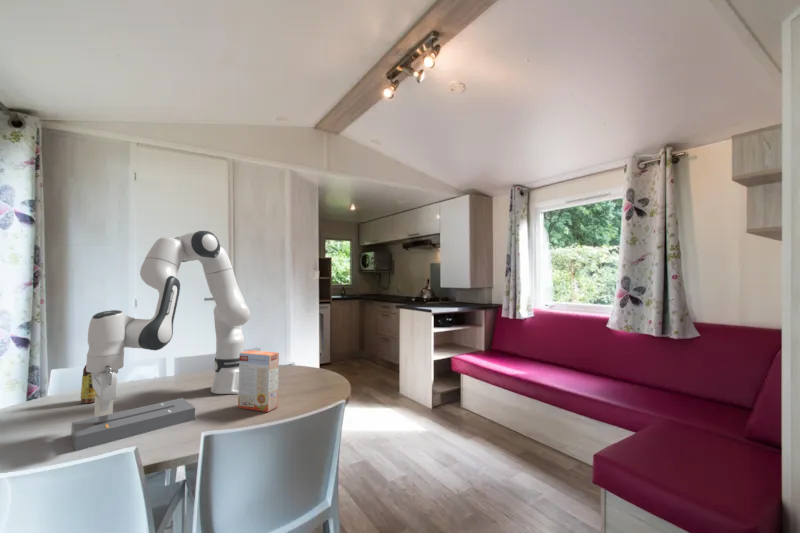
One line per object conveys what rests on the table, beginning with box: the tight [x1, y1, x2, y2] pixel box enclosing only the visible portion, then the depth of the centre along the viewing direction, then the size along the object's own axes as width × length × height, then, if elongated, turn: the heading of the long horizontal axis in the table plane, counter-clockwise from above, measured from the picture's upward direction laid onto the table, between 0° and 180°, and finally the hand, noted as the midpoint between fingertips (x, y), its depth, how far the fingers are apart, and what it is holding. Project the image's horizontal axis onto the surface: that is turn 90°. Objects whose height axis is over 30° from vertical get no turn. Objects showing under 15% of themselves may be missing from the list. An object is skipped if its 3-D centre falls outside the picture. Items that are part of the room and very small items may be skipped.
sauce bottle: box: [80, 365, 97, 404], centre depth 134 cm, size 6×6×20 cm
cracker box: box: [237, 350, 280, 413], centre depth 130 cm, size 14×6×21 cm, turn 71°
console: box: [70, 397, 196, 452], centre depth 112 cm, size 30×14×4 cm, turn 138°
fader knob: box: [93, 395, 114, 422], centre depth 106 cm, size 4×3×8 cm
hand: (103, 408), depth 106 cm, fingers closed on fader knob, 3 cm apart
